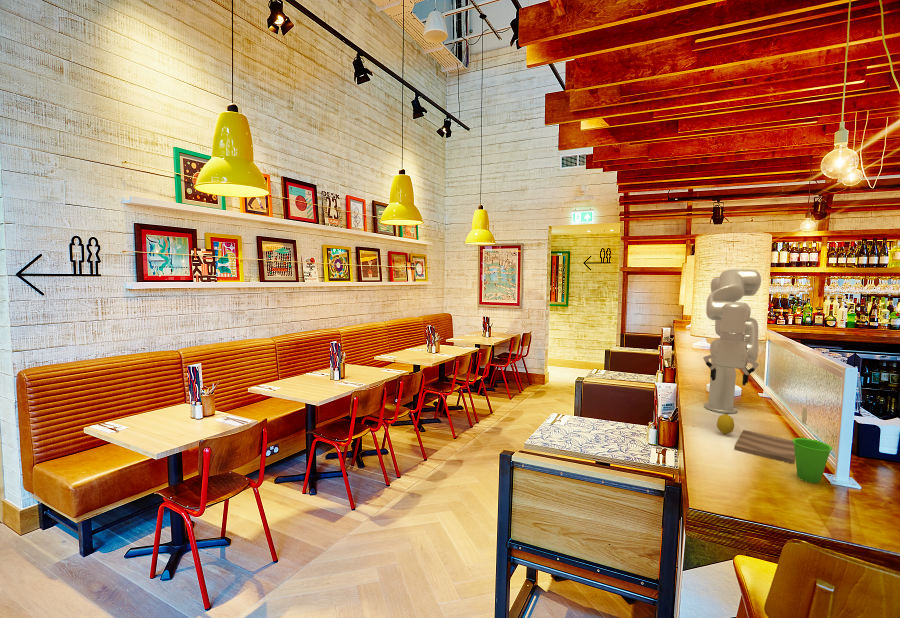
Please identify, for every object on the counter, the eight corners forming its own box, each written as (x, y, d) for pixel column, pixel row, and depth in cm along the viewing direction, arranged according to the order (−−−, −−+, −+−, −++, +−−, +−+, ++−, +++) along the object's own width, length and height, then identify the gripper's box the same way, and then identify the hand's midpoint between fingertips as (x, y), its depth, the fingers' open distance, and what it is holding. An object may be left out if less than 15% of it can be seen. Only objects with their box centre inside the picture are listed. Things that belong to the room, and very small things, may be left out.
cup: (788, 469, 133) (791, 435, 132) (826, 478, 128) (830, 442, 127) (790, 481, 126) (793, 444, 125) (831, 490, 120) (834, 453, 119)
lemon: (718, 430, 165) (719, 410, 164) (735, 434, 161) (736, 414, 160) (714, 434, 161) (715, 413, 160) (731, 438, 157) (733, 417, 156)
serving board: (743, 433, 162) (743, 429, 162) (797, 445, 152) (797, 441, 152) (734, 449, 147) (734, 445, 147) (793, 464, 137) (793, 459, 137)
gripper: (762, 338, 155) (758, 384, 156) (707, 333, 166) (704, 376, 168) (759, 341, 149) (755, 388, 151) (703, 335, 161) (699, 379, 162)
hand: (728, 382), depth 159 cm, fingers open, 9 cm apart
